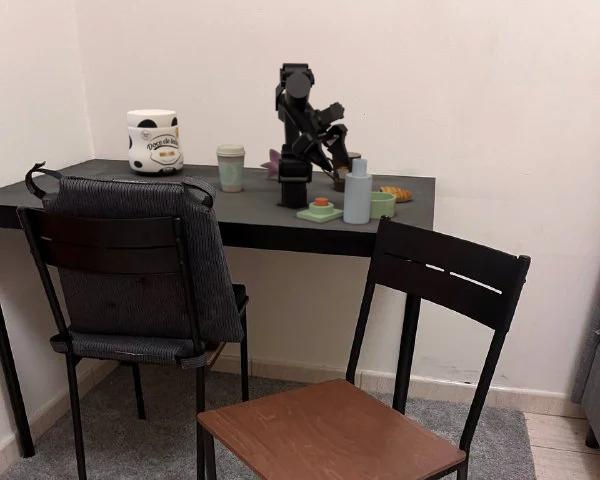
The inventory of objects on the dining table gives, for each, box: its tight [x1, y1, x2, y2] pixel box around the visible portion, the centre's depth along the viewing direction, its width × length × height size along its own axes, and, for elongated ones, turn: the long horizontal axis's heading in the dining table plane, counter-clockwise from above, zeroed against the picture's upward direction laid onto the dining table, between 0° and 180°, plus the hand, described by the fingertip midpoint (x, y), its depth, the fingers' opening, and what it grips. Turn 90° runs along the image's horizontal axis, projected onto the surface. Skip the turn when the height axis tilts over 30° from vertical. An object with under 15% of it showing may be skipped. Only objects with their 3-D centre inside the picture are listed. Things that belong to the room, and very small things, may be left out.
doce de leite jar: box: [126, 109, 185, 176], centre depth 196 cm, size 17×17×18 cm
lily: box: [259, 148, 281, 180], centre depth 190 cm, size 12×12×10 cm
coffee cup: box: [215, 144, 247, 193], centre depth 178 cm, size 8×8×12 cm
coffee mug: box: [320, 151, 362, 193], centre depth 182 cm, size 12×9×10 cm
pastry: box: [377, 185, 412, 203], centre depth 173 cm, size 9×7×4 cm
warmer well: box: [369, 191, 397, 220], centre depth 160 cm, size 10×10×4 cm
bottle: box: [342, 158, 373, 225], centre depth 151 cm, size 6×6×14 cm
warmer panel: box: [296, 201, 344, 224], centre depth 157 cm, size 8×10×3 cm
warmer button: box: [314, 197, 329, 206], centre depth 156 cm, size 3×3×2 cm
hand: (340, 168), depth 150 cm, fingers open, 9 cm apart
